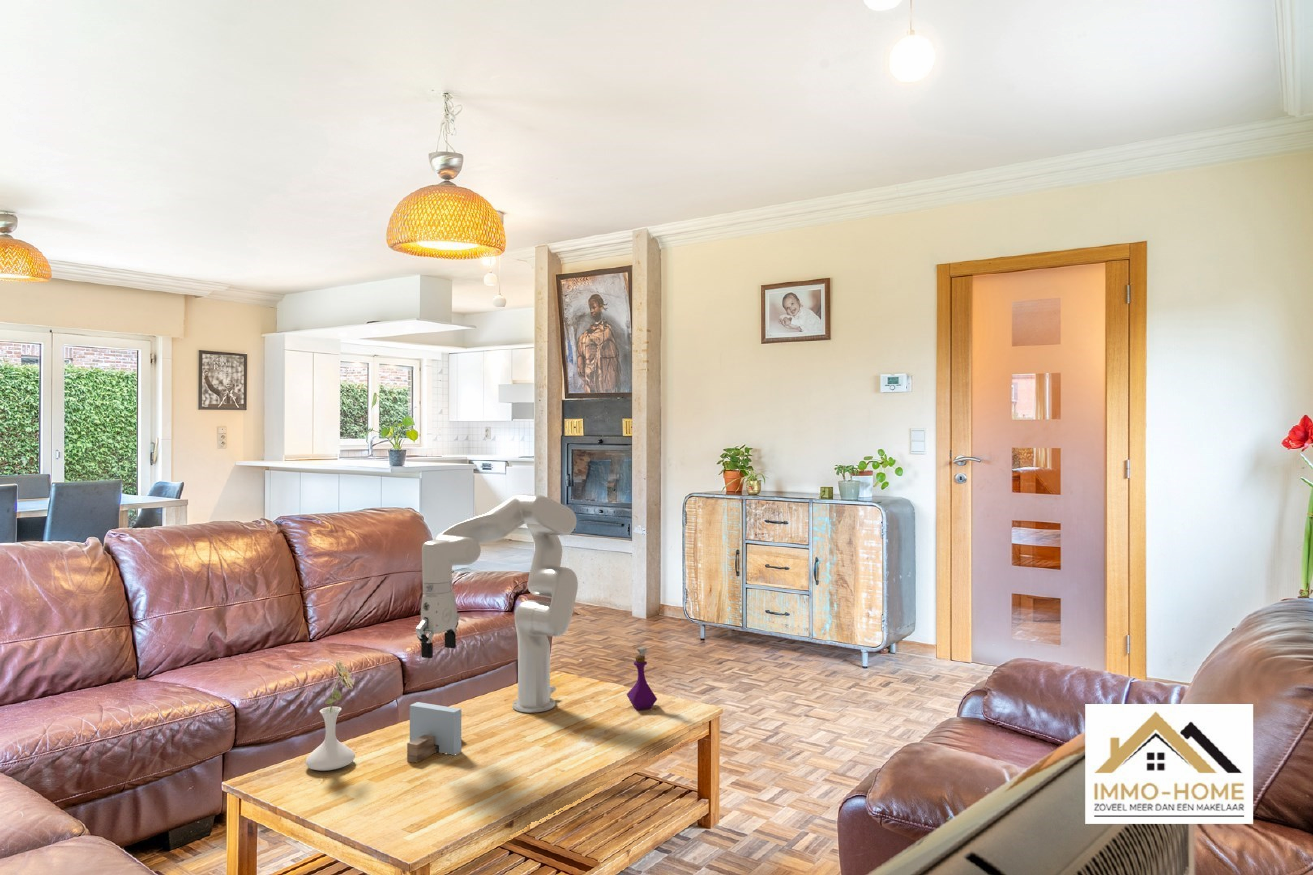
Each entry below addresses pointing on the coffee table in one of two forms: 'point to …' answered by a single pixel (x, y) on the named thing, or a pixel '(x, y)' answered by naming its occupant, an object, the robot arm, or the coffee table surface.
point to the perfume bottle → (641, 686)
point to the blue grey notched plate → (437, 725)
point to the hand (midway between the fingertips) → (439, 652)
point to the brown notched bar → (421, 748)
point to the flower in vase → (332, 732)
